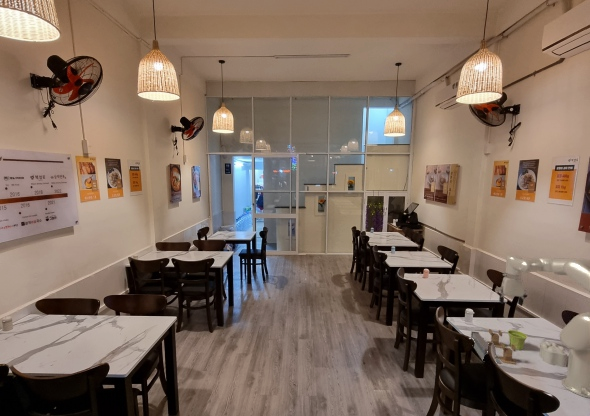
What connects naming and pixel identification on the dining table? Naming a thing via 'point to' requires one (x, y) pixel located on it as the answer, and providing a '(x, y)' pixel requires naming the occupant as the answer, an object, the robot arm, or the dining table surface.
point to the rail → (480, 341)
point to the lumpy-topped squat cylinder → (553, 354)
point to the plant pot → (517, 339)
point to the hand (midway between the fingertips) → (510, 303)
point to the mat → (483, 353)
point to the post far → (495, 338)
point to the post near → (507, 354)
